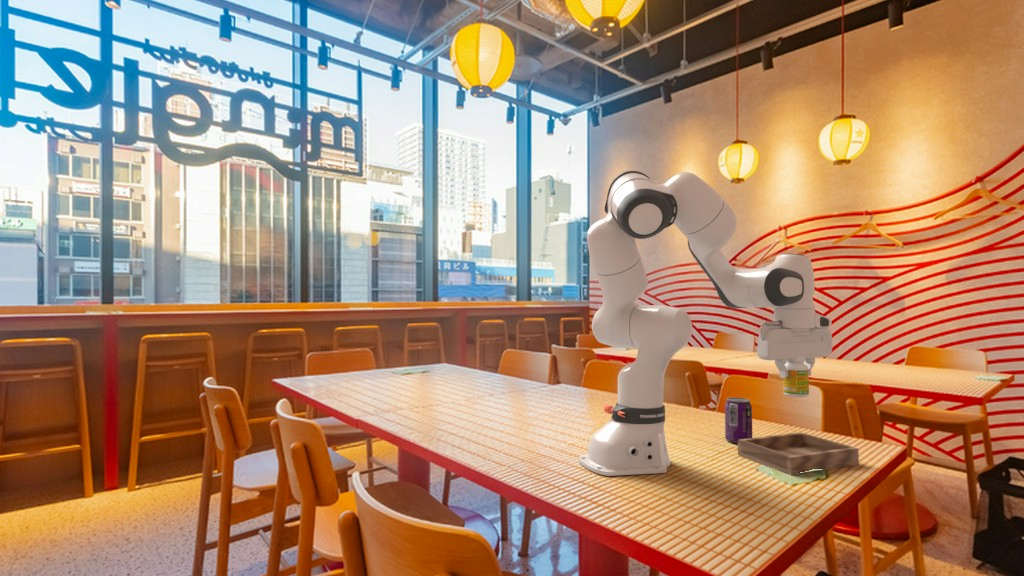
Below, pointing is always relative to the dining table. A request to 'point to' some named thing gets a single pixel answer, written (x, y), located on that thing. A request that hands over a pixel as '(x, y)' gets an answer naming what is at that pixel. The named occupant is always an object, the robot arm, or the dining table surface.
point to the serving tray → (798, 452)
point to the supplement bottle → (796, 378)
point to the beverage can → (738, 419)
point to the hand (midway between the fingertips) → (795, 376)
